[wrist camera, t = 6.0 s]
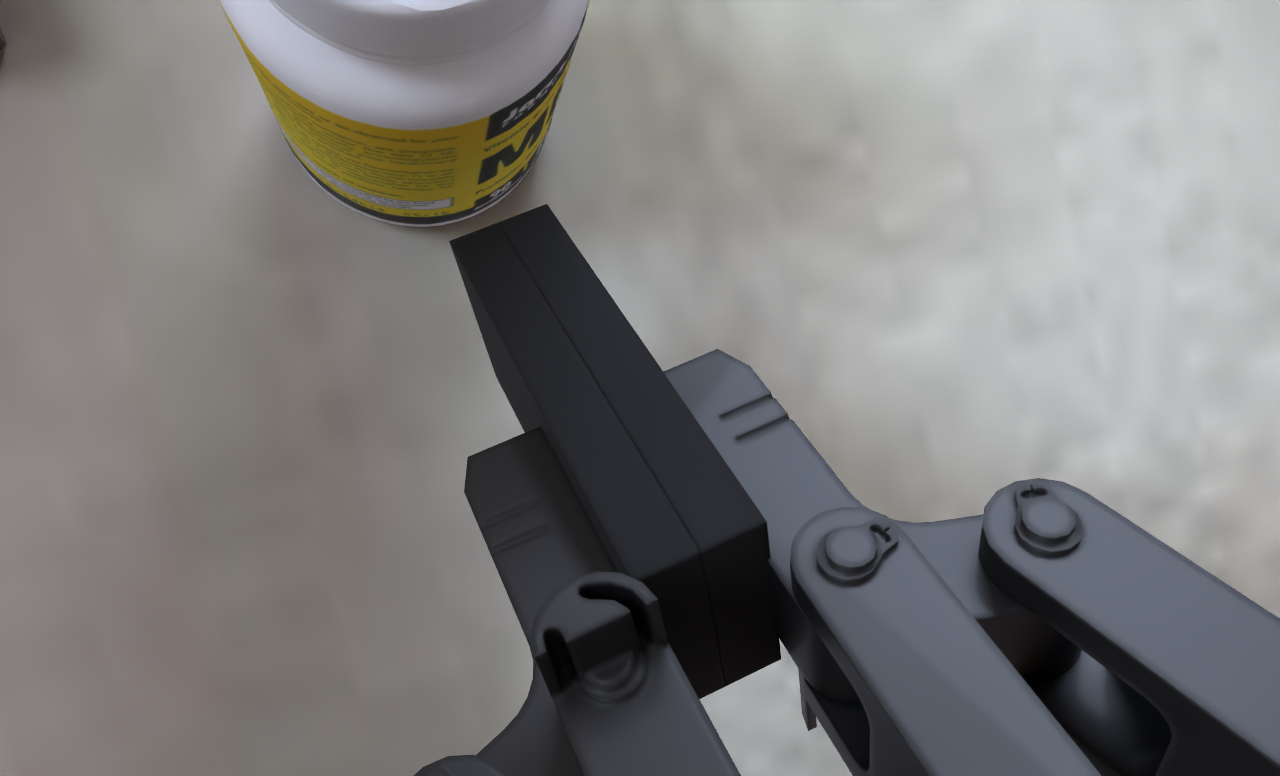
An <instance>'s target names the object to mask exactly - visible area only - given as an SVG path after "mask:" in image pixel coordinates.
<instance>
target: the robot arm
mask: <svg viewBox="0 0 1280 776" xmlns="http://www.w3.org/2000/svg"><path fill="white" fill-rule="evenodd" d="M449 242H450V244H451V247H452V250H453V253H454V256H455V259H456V262H457V265H458V268H459V270H460V273H461V276H462V279H463V282H464V285H465V288H466V291H467V293H468V296H469V299H470V302H471V305H472V308H473V311H474V314H475V317H476V319H477V322H478V325H479V328H480V331H481V334H482V337H483V340H484V343H485V345H486V348H487V351H488V354H489V357H490V360H491V363H492V366H493V368H494V371H495V374H496V377H497V379H498V381H499V383H500V385H501V387H502V389H503V391H504V393H505V394H506V396H507V398H508V400H509V402H510V404H511V406H512V408H513V410H514V412H515V414H516V416H517V418H518V420H519V422H520V424H521V426H522V428H523V430H524V432H525V433H524V434H521V435H519V436H517V437H514V438H512V439H509V440H507V441H505V442H502V443H500V444H498V445H495V446H493V447H491V448H488V449H486V450H483V451H481V452H479V453H476V454H474V455H472V456H469V457H468V460H467V470H466V480H465V489H464V492H465V495H466V497H467V499H468V502H469V504H470V506H471V509H472V511H473V514H474V516H475V518H476V521H477V523H478V525H479V528H480V530H481V532H482V535H483V537H484V540H485V542H486V544H487V547H488V549H489V551H490V554H491V556H492V558H493V561H494V563H495V565H496V568H497V570H498V573H499V575H500V577H501V580H502V582H503V584H504V587H505V589H506V591H507V594H508V596H509V598H510V601H511V603H512V606H513V608H514V610H515V613H516V615H517V617H518V620H519V622H520V624H521V627H522V629H523V631H524V634H525V636H526V639H527V641H528V643H529V646H530V650H531V653H532V657H533V680H532V684H531V687H530V691H529V694H528V697H527V699H526V701H525V703H524V704H523V706H522V708H521V710H520V711H519V713H518V714H517V716H516V717H515V718H514V719H513V720H512V721H511V722H510V724H509V725H508V726H507V727H506V728H505V729H504V730H503V731H502V732H501V733H500V734H499V735H498V736H496V737H495V738H494V739H493V740H492V741H491V742H490V743H489V744H488V745H487V746H486V747H484V748H483V749H482V750H481V751H480V752H479V753H478V754H477V755H476V756H475V755H462V756H447V757H445V758H443V759H441V760H438V761H436V762H434V763H431V764H429V765H427V766H425V767H423V768H422V769H421V770H420V771H418V772H417V773H416V774H415V775H414V776H741V775H740V773H739V772H738V770H737V768H736V766H735V764H734V762H733V761H732V759H731V757H730V755H729V753H728V751H727V749H726V748H725V746H724V744H723V742H722V740H721V738H720V737H719V735H718V733H717V731H716V729H715V727H714V726H713V724H712V722H711V720H710V718H709V716H708V715H707V713H706V711H705V709H704V707H703V705H702V704H701V702H700V700H699V699H701V698H703V697H705V696H707V695H709V694H711V693H713V692H715V691H717V690H719V689H721V688H723V687H725V686H727V685H729V684H731V683H733V682H735V681H737V680H739V679H741V678H743V677H745V676H747V675H749V674H752V673H754V672H756V671H758V670H760V669H762V668H764V667H766V666H768V665H770V664H772V663H774V662H776V661H778V660H780V659H781V653H780V644H779V638H780V640H781V641H782V643H783V644H784V646H785V648H786V649H787V651H788V652H789V654H790V655H791V657H792V659H793V660H794V662H795V663H796V665H797V666H798V669H799V681H800V693H801V705H802V714H803V717H804V720H805V723H806V725H807V728H808V731H810V730H812V729H813V728H815V727H817V724H816V717H817V718H818V720H819V722H820V723H821V725H822V726H823V728H824V730H825V731H826V733H827V734H828V736H829V738H830V739H831V741H832V742H833V744H834V746H835V747H836V749H837V751H838V752H839V754H840V755H841V757H842V759H843V760H844V762H845V763H846V765H847V767H848V768H849V770H850V771H851V773H852V775H853V776H1280V619H1279V618H1278V617H1276V616H1274V615H1273V614H1271V613H1270V612H1268V611H1267V610H1265V609H1264V608H1262V607H1261V606H1259V605H1258V604H1256V603H1255V602H1253V601H1252V600H1250V599H1248V598H1247V597H1245V596H1244V595H1242V594H1241V593H1239V592H1238V591H1236V590H1235V589H1233V588H1232V587H1230V586H1229V585H1227V584H1226V583H1224V582H1222V581H1221V580H1219V579H1218V578H1216V577H1215V576H1213V575H1212V574H1210V573H1209V572H1207V571H1206V570H1204V569H1203V568H1201V567H1200V566H1198V565H1196V564H1195V563H1193V562H1192V561H1190V560H1189V559H1187V558H1186V557H1184V556H1183V555H1181V554H1180V553H1178V552H1177V551H1175V550H1174V549H1172V548H1170V547H1169V546H1167V545H1166V544H1164V543H1163V542H1161V541H1160V540H1158V539H1157V538H1155V537H1154V536H1152V535H1151V534H1149V533H1147V532H1146V531H1144V530H1143V529H1141V528H1140V527H1138V526H1137V525H1135V524H1134V523H1132V522H1131V521H1129V520H1128V519H1126V518H1125V517H1123V516H1121V515H1120V514H1118V513H1117V512H1115V511H1114V510H1112V509H1111V508H1109V507H1108V506H1106V505H1105V504H1103V503H1102V502H1100V501H1099V500H1097V499H1095V498H1094V497H1092V496H1091V495H1089V494H1088V493H1086V492H1084V491H1082V490H1080V489H1078V488H1075V487H1073V486H1071V485H1069V484H1067V483H1065V482H1060V481H1054V480H1047V479H1040V478H1037V479H1030V480H1023V481H1016V482H1014V483H1012V484H1010V485H1008V486H1006V487H1004V488H1002V489H1000V490H999V491H997V492H996V493H995V494H994V496H993V497H992V498H991V499H990V501H989V502H988V503H987V505H986V506H985V509H984V515H979V516H972V517H965V518H958V519H951V520H944V521H937V522H924V523H910V522H903V521H897V520H893V519H890V518H888V517H887V516H885V515H882V514H879V513H877V512H874V511H871V510H870V509H868V508H866V507H865V506H863V505H862V504H861V503H860V502H859V501H858V500H857V499H856V498H854V497H853V496H852V495H851V494H850V492H849V491H848V490H847V489H846V487H845V486H844V485H843V483H842V482H841V481H840V480H839V478H838V477H837V476H836V475H835V473H834V472H833V471H832V470H831V468H830V467H829V466H828V465H827V463H826V462H825V461H824V459H823V458H822V457H821V456H820V454H819V453H818V452H817V451H816V449H815V448H814V447H813V446H812V444H811V443H810V442H809V440H808V439H807V438H806V437H805V435H804V434H803V433H802V432H801V430H800V429H799V428H798V427H797V425H796V424H795V423H794V422H793V420H790V419H789V417H788V414H787V413H786V411H785V410H784V409H783V408H782V406H781V405H780V404H779V403H778V401H777V400H776V399H775V398H774V399H773V397H772V395H771V392H770V391H769V390H768V389H767V387H766V386H765V385H764V384H763V382H762V381H761V380H760V379H759V377H758V376H757V375H756V373H755V372H754V371H753V370H752V368H751V367H750V366H748V365H746V364H744V363H742V362H741V361H739V360H737V359H735V358H733V357H731V356H729V355H728V354H726V353H724V352H722V351H720V350H718V349H716V350H714V351H712V352H709V353H707V354H705V355H702V356H700V357H698V358H695V359H693V360H690V361H688V362H686V363H683V364H681V365H679V366H676V367H674V368H671V369H669V370H667V371H664V372H663V371H662V370H661V368H660V367H659V365H658V364H657V362H656V361H655V359H654V358H653V357H652V355H651V354H650V352H649V351H648V349H647V348H646V346H645V345H644V344H643V342H642V341H641V339H640V338H639V336H638V335H637V333H636V332H635V331H634V329H633V328H632V326H631V325H630V323H629V322H628V320H627V319H626V318H625V316H624V315H623V313H622V312H621V310H620V309H619V307H618V306H617V305H616V303H615V302H614V300H613V299H612V297H611V296H610V294H609V293H608V292H607V290H606V289H605V287H604V286H603V284H602V283H601V282H600V280H599V279H598V277H597V276H596V274H595V273H594V271H593V270H592V269H591V267H590V266H589V264H588V263H587V261H586V260H585V258H584V257H583V256H582V254H581V253H580V251H579V250H578V248H577V247H576V245H575V244H574V243H573V241H572V240H571V238H570V237H569V235H568V234H567V232H566V231H565V230H564V228H563V227H562V225H561V224H560V222H559V221H558V219H557V218H556V217H555V215H554V214H553V212H552V211H551V209H550V208H549V206H548V205H547V204H546V205H543V206H541V207H538V208H535V209H533V210H530V211H528V212H525V213H522V214H520V215H517V216H514V217H512V218H509V219H507V220H504V221H501V222H499V223H496V224H493V225H491V226H488V227H486V228H483V229H480V230H478V231H475V232H472V233H470V234H467V235H465V236H462V237H459V238H457V239H454V240H451V241H449Z"/></svg>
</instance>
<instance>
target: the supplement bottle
mask: <svg viewBox="0 0 1280 776" xmlns="http://www.w3.org/2000/svg"><path fill="white" fill-rule="evenodd" d="M220 3H221V6H222V8H223V10H224V12H225V14H226V16H227V18H228V21H229V23H230V25H231V26H232V28H233V30H234V32H235V34H236V36H237V38H238V40H239V42H240V44H241V46H242V48H243V50H244V52H245V54H246V56H247V58H248V60H249V62H250V64H251V66H252V68H253V70H254V72H255V74H256V76H257V78H258V80H259V82H260V84H261V87H262V89H263V91H264V93H265V96H266V98H267V100H268V102H269V104H270V106H271V108H272V110H273V113H274V115H275V117H276V119H277V121H278V123H279V126H280V128H281V130H282V132H283V134H284V137H285V139H286V141H287V143H288V144H289V146H290V148H291V150H292V152H293V153H294V155H295V157H296V158H297V160H298V161H299V163H300V164H301V166H302V167H303V168H304V170H305V171H306V172H307V174H308V175H309V176H310V177H311V178H312V179H313V180H314V182H315V183H316V184H317V185H319V186H320V187H321V188H322V189H323V190H324V191H325V192H326V193H328V194H329V195H330V196H332V197H333V198H334V199H336V200H337V201H339V202H340V203H342V204H343V205H345V206H346V207H348V208H350V209H352V210H354V211H356V212H358V213H360V214H362V215H364V216H367V217H370V218H372V219H375V220H378V221H382V222H386V223H390V224H395V225H402V226H417V227H427V226H439V225H445V224H450V223H454V222H458V221H461V220H464V219H467V218H470V217H473V216H475V215H477V214H479V213H481V212H483V211H485V210H487V209H488V208H490V207H492V206H493V205H495V204H496V203H498V202H499V201H500V200H502V199H503V198H504V197H505V196H507V195H508V194H509V193H510V192H511V191H512V190H513V189H514V188H515V187H516V186H517V185H518V184H519V183H520V182H521V180H522V179H523V178H524V177H525V176H526V174H527V173H528V171H529V170H530V168H531V167H532V165H533V164H534V162H535V160H536V158H537V157H538V154H539V152H540V150H541V148H542V145H543V143H544V140H545V137H546V134H547V132H548V130H549V126H550V123H551V120H552V115H553V112H554V109H555V106H556V103H557V100H558V97H559V94H560V91H561V89H562V85H563V82H564V79H565V76H566V73H567V70H568V68H569V64H570V60H571V57H572V54H573V51H574V48H575V45H576V42H577V39H578V36H579V32H580V30H581V28H582V25H583V23H584V19H585V15H586V11H587V8H588V4H589V0H220Z"/></svg>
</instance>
